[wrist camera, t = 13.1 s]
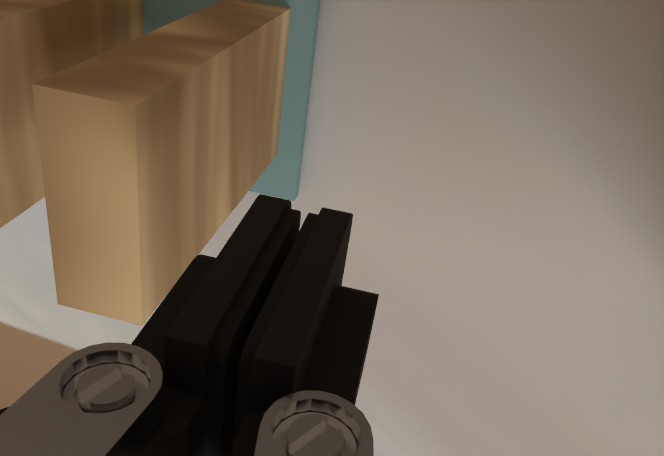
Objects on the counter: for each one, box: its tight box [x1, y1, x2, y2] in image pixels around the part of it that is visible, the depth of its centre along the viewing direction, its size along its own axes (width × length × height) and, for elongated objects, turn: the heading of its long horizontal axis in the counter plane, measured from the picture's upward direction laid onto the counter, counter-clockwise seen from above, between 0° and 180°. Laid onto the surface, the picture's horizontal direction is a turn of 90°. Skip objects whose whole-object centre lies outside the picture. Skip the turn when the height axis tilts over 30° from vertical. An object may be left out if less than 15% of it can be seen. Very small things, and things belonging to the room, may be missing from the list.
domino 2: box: [32, 0, 291, 326], centre depth 17 cm, size 2×5×10 cm, turn 173°
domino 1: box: [0, 0, 144, 228], centre depth 17 cm, size 2×5×10 cm, turn 173°
